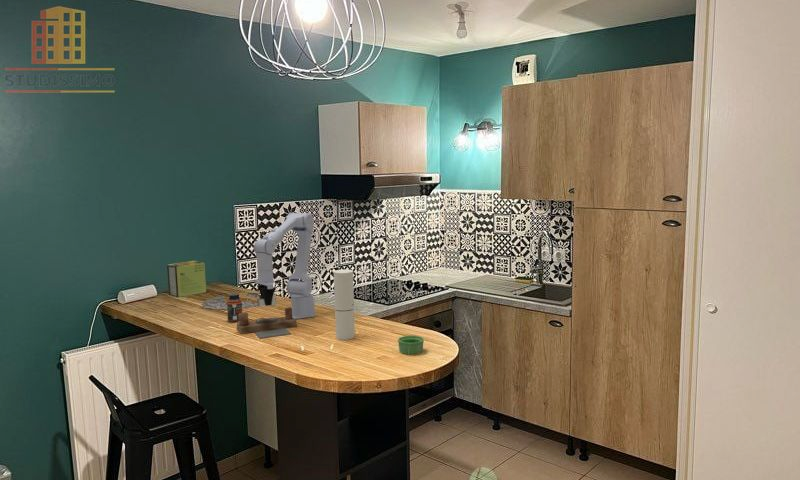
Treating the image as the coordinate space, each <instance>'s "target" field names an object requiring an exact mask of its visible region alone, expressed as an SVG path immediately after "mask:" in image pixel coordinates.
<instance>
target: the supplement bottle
mask: <svg viewBox="0 0 800 480" xmlns="http://www.w3.org/2000/svg"><path fill="white" fill-rule="evenodd" d="M239 294H240V293H237V292H235V293H230V294H228V295H229V299H228V300H227V310H226V311H227V321H228V322H229V323H239V313H243V309H242V300H241V299H240V298H239Z"/></svg>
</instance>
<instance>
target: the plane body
mask: <svg viewBox="0 0 800 480" xmlns="http://www.w3.org/2000/svg"><path fill="white" fill-rule="evenodd" d="M297 324H298V323H297V319H294V318H293V317H292V306H290V307H284V316H283V317H269V318H260V319H259V318H258V319H255V320H252V321H251V320H250V321H249V312H242V313H239V322H236V330H237V332H239V334H240V335H246V334H252V333H253V334H255V332H262V331H269V330H276V329H284V328H286V329H289V328H297V327H298V326H297Z"/></svg>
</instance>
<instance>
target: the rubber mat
mask: <svg viewBox="0 0 800 480" xmlns="http://www.w3.org/2000/svg"><path fill="white" fill-rule="evenodd" d="M254 334H255V335H256V336H257V337H258V338H259V339H267V338H268V339H269V338H274V337H280V336H288V335H289V336H290V335H292V332H290V330H288V328H283V329H276V330H269V331H261V332H254Z"/></svg>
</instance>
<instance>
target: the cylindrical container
mask: <svg viewBox="0 0 800 480" xmlns="http://www.w3.org/2000/svg"><path fill="white" fill-rule="evenodd" d="M333 292H334V293H333V295H334V296H333V297H334V319H335V320H334V321H335V322H334V323H335V327H334V328H335V339H337V340H341V341H347V340H352V339H354V338H355V337H356V330H355V328H356V327H355V299H354V297H355V296H354V295H355V294H354V270H352V269H337V270H333Z"/></svg>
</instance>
